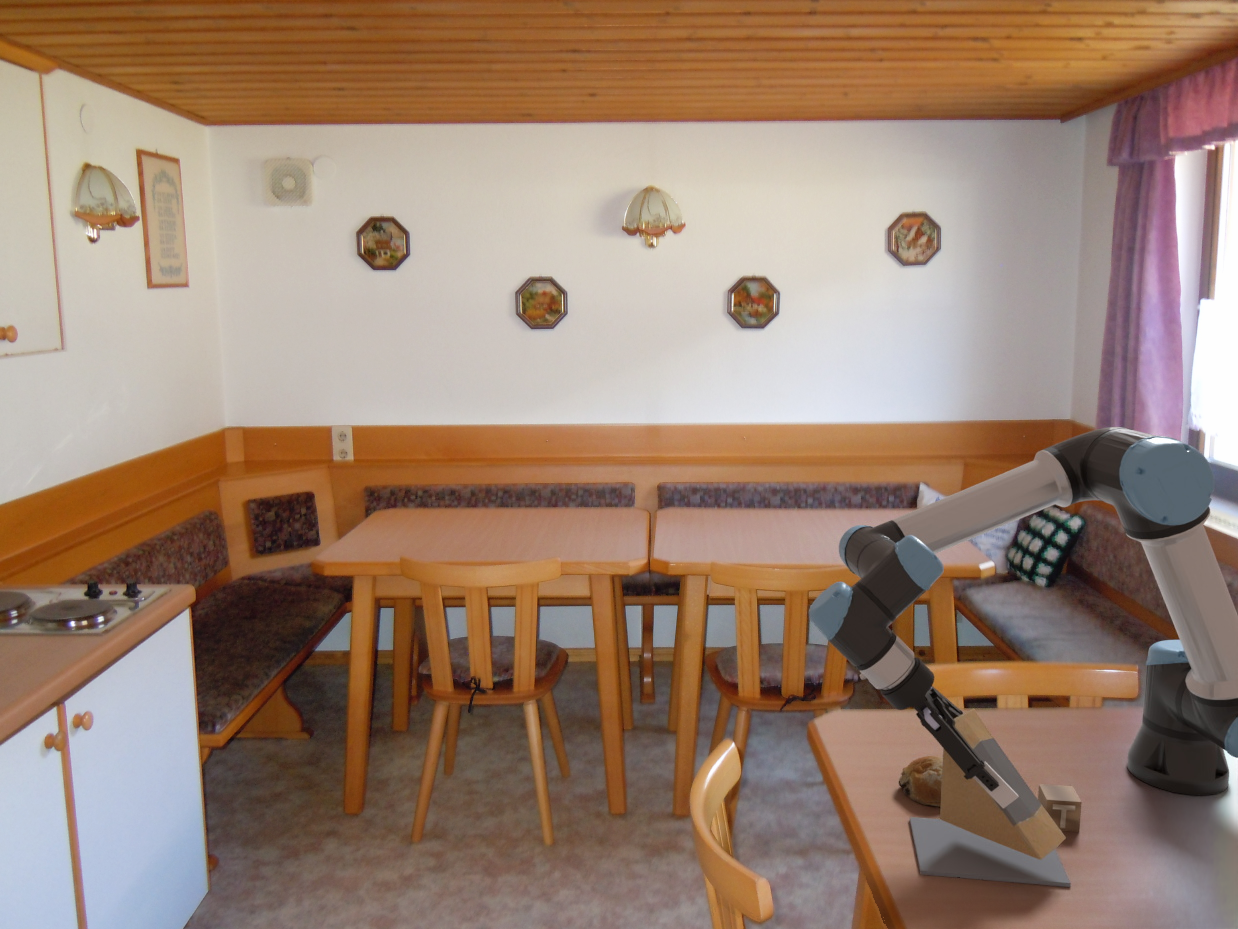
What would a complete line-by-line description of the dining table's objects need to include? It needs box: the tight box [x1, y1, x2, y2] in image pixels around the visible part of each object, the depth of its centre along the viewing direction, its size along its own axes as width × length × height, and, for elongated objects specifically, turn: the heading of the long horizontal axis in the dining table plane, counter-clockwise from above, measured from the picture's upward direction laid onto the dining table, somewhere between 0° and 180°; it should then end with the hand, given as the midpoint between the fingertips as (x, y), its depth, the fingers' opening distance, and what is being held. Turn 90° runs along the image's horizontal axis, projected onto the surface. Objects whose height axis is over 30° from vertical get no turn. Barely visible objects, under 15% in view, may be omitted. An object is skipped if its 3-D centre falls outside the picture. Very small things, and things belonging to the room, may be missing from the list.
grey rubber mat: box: [909, 816, 1072, 888], centre depth 151 cm, size 20×15×1 cm
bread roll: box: [898, 755, 943, 808], centre depth 168 cm, size 10×10×8 cm
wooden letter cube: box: [1037, 783, 1083, 833], centre depth 159 cm, size 5×5×5 cm
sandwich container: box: [939, 708, 1067, 860], centre depth 147 cm, size 9×15×15 cm, turn 44°
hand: (1002, 780), depth 149 cm, fingers closed on sandwich container, 12 cm apart
